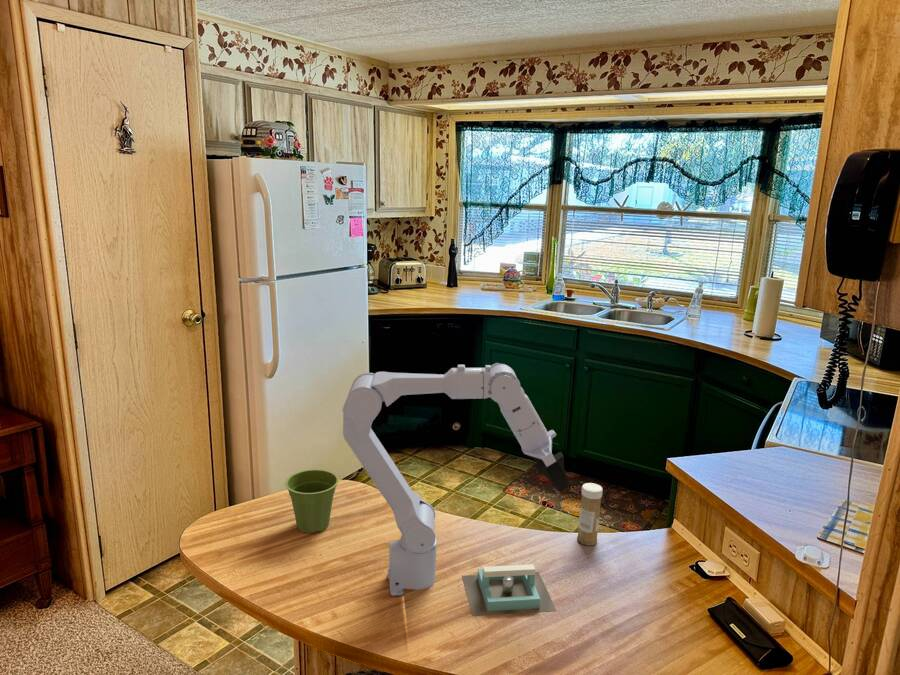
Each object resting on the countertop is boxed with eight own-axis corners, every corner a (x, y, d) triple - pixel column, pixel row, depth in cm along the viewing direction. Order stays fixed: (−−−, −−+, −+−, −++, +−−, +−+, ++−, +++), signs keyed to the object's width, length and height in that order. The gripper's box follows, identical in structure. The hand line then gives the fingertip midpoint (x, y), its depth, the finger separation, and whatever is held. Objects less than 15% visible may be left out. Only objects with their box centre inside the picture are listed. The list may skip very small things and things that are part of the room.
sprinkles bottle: (601, 542, 140) (607, 488, 137) (586, 548, 137) (592, 493, 134) (586, 533, 144) (592, 480, 140) (572, 538, 141) (577, 484, 138)
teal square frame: (487, 611, 114) (489, 585, 113) (477, 578, 124) (478, 554, 122) (539, 608, 115) (541, 582, 114) (525, 575, 125) (527, 551, 124)
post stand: (472, 620, 113) (473, 601, 112) (461, 580, 124) (462, 562, 123) (556, 615, 115) (558, 596, 114) (538, 576, 127) (539, 558, 126)
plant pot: (289, 512, 147) (289, 469, 144) (340, 511, 148) (340, 468, 145) (282, 540, 135) (281, 493, 133) (336, 539, 137) (336, 493, 134)
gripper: (554, 424, 109) (588, 484, 112) (533, 401, 123) (563, 455, 126) (520, 444, 108) (555, 504, 111) (502, 419, 122) (534, 473, 125)
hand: (557, 480), depth 118 cm, fingers open, 7 cm apart
